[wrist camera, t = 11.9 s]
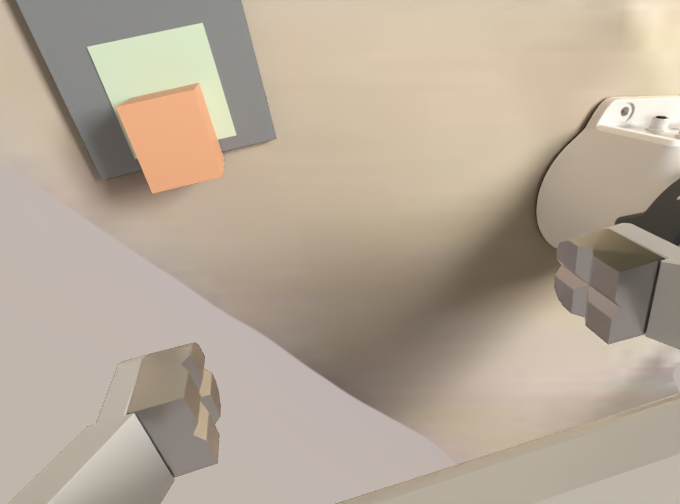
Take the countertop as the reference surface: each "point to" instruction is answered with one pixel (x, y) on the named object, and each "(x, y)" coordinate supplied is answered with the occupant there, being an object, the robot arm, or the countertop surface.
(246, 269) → the countertop surface
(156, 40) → the ticket board
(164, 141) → the stub
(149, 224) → the countertop surface
